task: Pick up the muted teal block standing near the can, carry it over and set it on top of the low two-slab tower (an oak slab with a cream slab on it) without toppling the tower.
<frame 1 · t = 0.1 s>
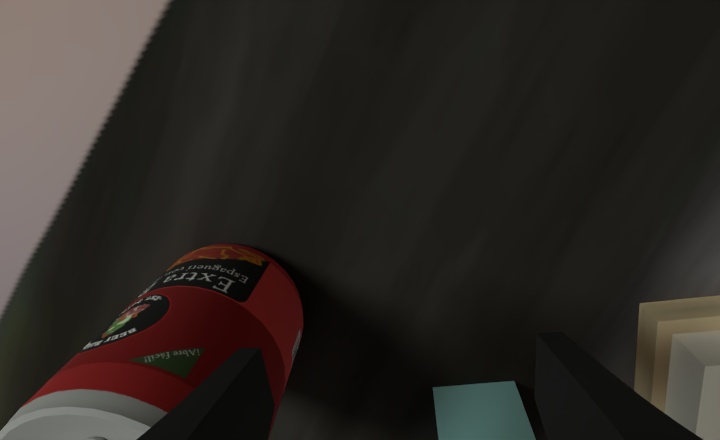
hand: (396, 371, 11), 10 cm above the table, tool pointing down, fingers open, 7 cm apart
oak slab: (700, 346, 22), on the table, touching cream slab
teal block: (475, 413, 24), on the table
canned food: (239, 303, 23), on the table
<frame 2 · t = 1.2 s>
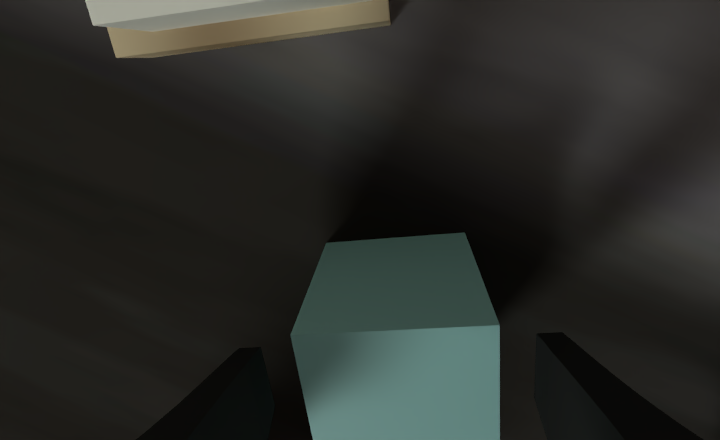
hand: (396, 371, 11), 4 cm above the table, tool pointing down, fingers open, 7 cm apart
teal block: (399, 296, 14), on the table
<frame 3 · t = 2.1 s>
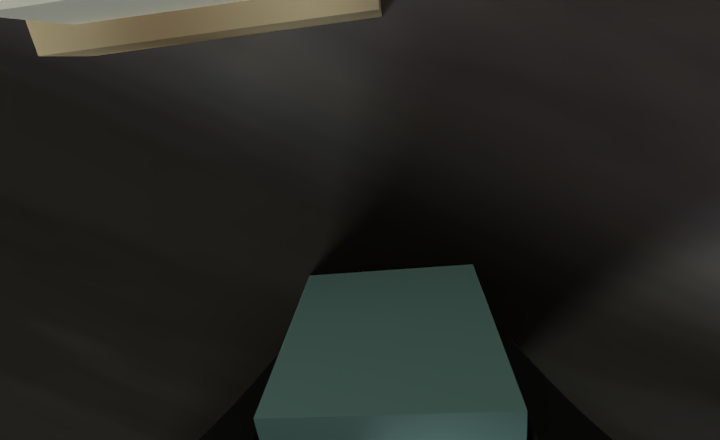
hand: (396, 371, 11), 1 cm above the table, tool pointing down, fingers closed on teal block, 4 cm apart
teal block: (396, 337, 12), on the table, touching gripper
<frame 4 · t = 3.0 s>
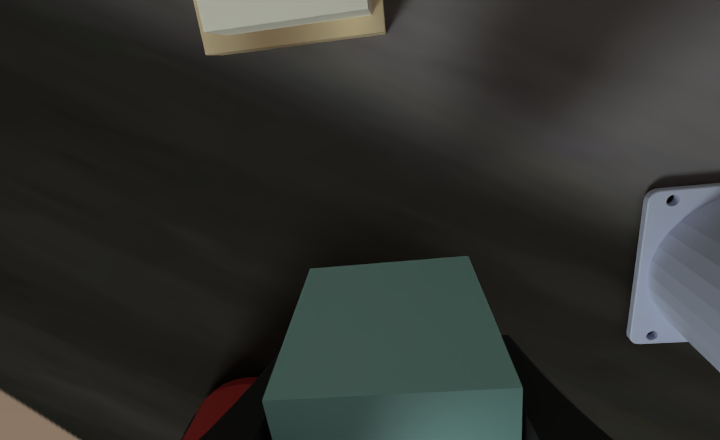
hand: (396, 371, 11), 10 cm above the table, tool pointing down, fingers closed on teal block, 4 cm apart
teal block: (394, 328, 13), point 8 cm above the table, touching gripper
canned food: (265, 419, 26), on the table
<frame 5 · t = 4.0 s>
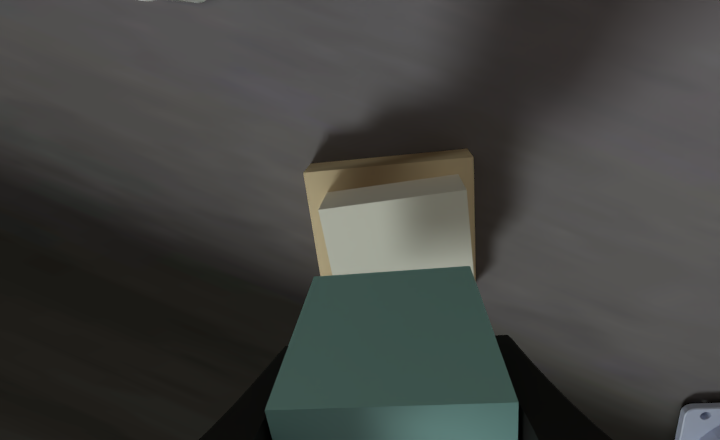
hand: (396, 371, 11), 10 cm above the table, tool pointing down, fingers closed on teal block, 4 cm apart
oak slab: (393, 224, 20), on the table
cream slab: (400, 242, 18), point 2 cm above the table
teal block: (397, 336, 13), point 8 cm above the table, touching gripper
when the fingers open (7 cm above the table, at t = 5.0 s): teal block drops 1 cm, resting on cream slab.
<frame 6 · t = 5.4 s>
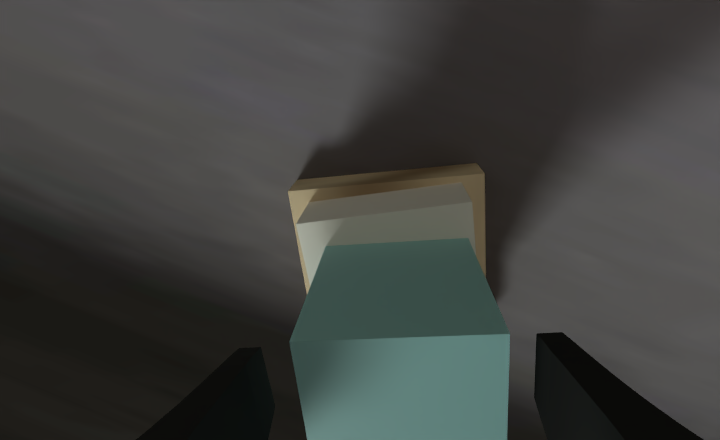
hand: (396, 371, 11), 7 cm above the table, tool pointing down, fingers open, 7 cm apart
oak slab: (392, 246, 18), on the table, touching cream slab
cream slab: (393, 260, 16), point 2 cm above the table, touching oak slab, teal block
teal block: (400, 303, 14), point 4 cm above the table, touching cream slab
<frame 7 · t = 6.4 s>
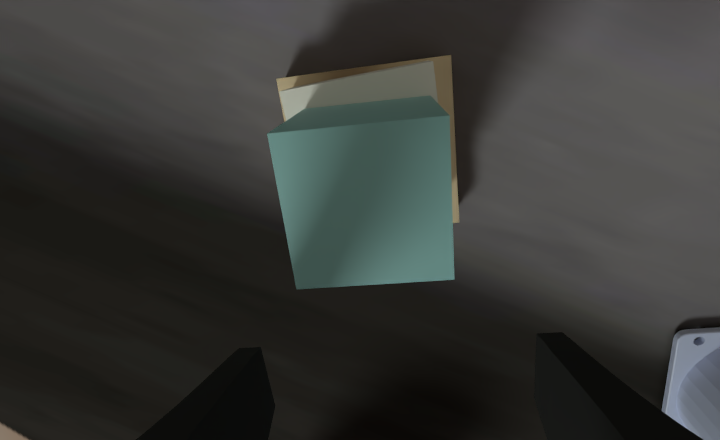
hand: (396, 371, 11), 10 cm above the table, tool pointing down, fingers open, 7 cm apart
oak slab: (374, 144, 20), on the table
cream slab: (370, 142, 18), point 2 cm above the table, touching teal block
teal block: (372, 163, 16), point 4 cm above the table, touching cream slab
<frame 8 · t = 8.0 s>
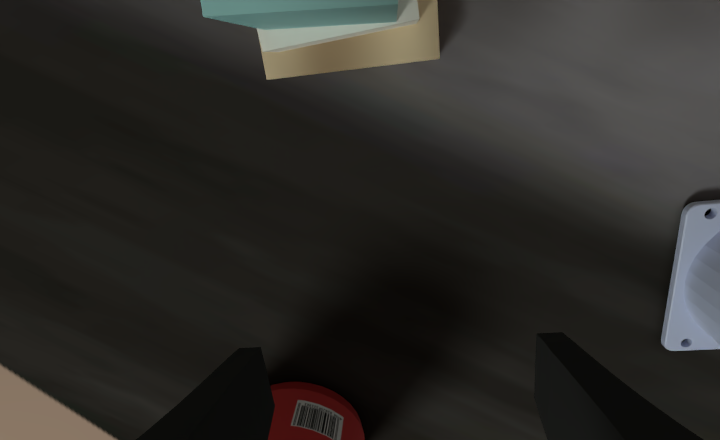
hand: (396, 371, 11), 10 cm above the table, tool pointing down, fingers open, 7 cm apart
canned food: (303, 422, 26), on the table
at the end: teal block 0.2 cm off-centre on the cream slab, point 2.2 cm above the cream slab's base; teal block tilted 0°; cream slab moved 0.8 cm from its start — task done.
